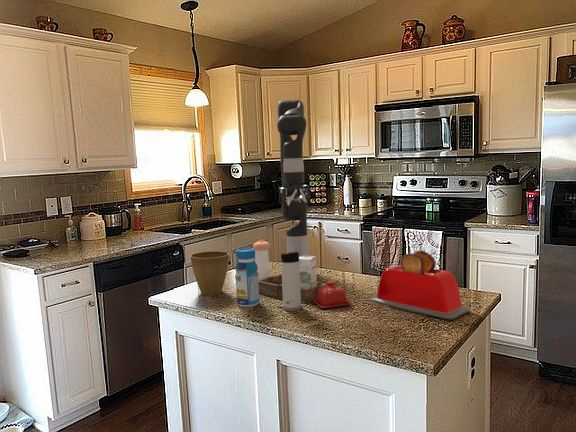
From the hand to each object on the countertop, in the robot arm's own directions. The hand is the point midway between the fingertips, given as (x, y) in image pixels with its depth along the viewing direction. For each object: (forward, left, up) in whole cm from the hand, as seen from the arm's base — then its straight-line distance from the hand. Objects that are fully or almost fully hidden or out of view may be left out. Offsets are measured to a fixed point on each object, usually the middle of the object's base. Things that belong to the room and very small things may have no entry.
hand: (295, 214), depth 180 cm
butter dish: (+2, +18, -31) cm, 36 cm away
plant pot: (+20, -28, -31) cm, 47 cm away
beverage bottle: (+20, -6, -31) cm, 37 cm away
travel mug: (+14, +10, -31) cm, 35 cm away
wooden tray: (+1, -2, -31) cm, 31 cm away
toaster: (-15, +42, -31) cm, 55 cm away
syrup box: (+1, +5, -30) cm, 31 cm away
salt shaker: (-1, -22, -31) cm, 38 cm away
